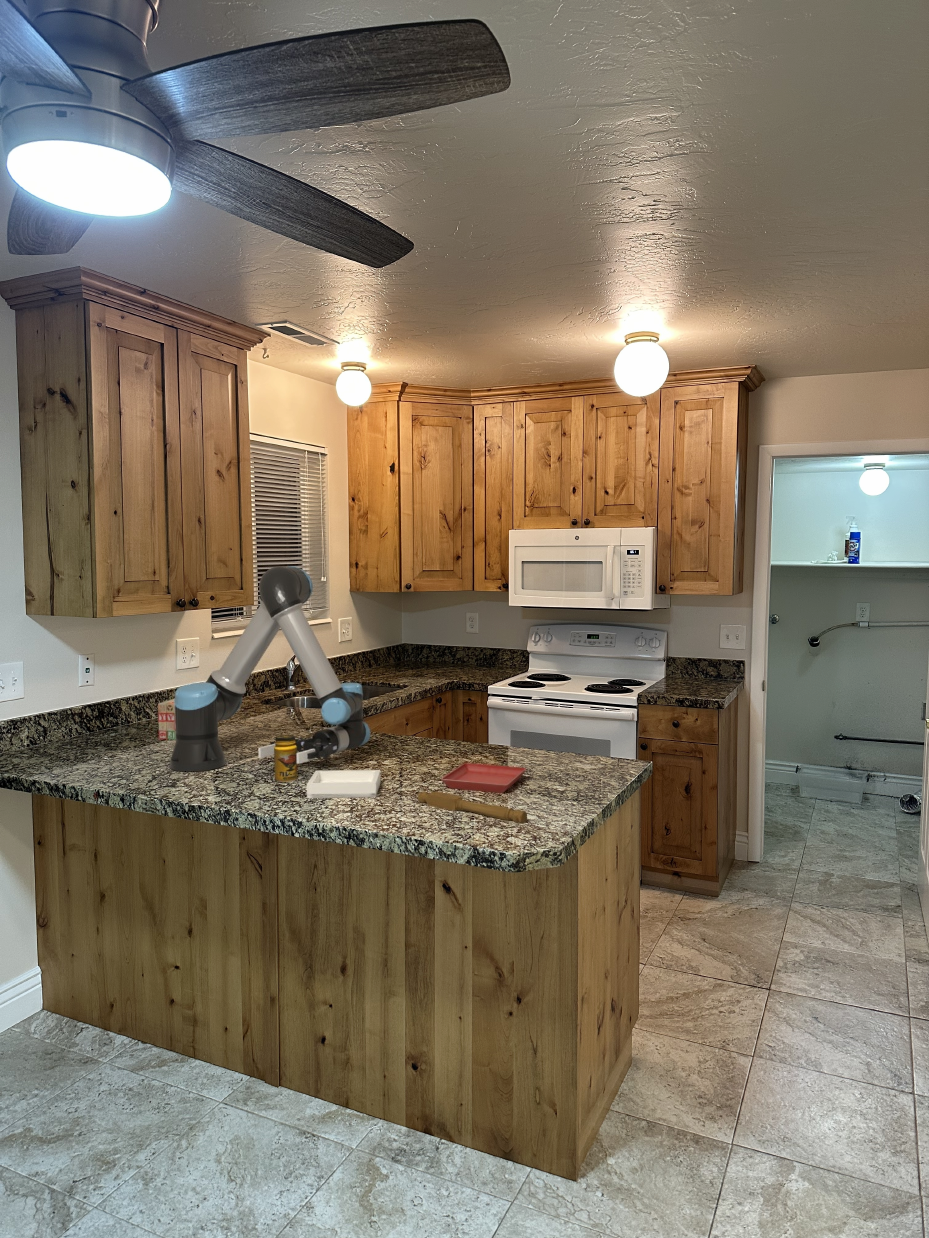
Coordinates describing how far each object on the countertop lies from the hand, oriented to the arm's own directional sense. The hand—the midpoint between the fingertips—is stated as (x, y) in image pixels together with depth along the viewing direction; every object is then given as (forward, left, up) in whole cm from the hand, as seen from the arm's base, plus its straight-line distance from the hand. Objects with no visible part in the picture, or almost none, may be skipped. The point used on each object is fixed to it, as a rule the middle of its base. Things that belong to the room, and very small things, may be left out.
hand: (278, 755), depth 222 cm
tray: (+19, -10, -7) cm, 23 cm away
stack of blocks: (-47, +70, -7) cm, 84 cm away
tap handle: (+50, -30, -7) cm, 59 cm away
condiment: (+1, +2, -7) cm, 8 cm away
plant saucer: (+55, -5, -8) cm, 56 cm away
